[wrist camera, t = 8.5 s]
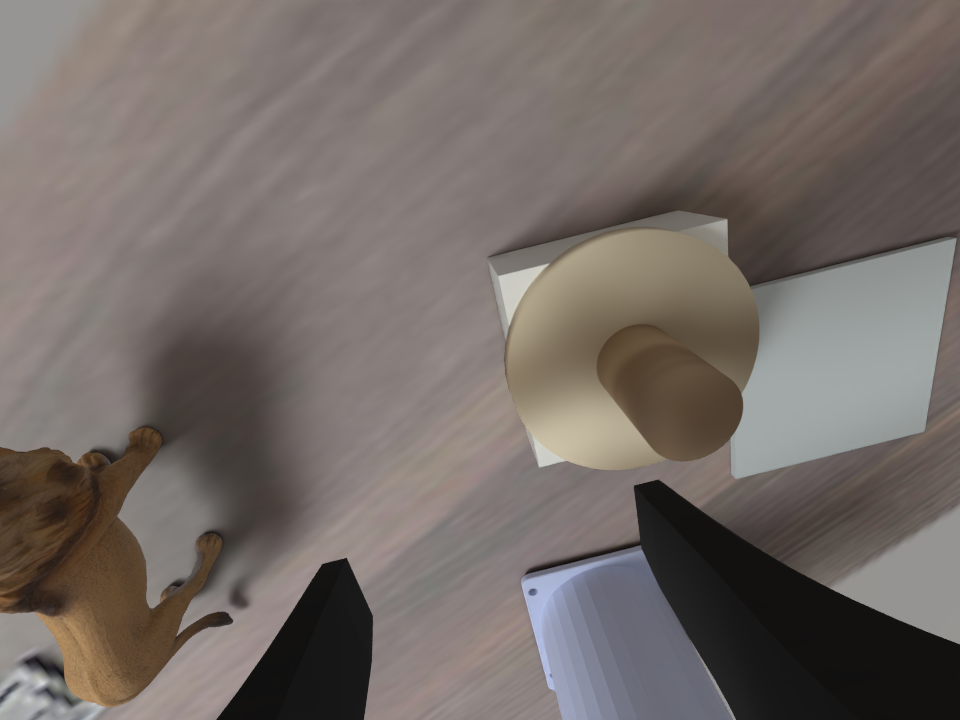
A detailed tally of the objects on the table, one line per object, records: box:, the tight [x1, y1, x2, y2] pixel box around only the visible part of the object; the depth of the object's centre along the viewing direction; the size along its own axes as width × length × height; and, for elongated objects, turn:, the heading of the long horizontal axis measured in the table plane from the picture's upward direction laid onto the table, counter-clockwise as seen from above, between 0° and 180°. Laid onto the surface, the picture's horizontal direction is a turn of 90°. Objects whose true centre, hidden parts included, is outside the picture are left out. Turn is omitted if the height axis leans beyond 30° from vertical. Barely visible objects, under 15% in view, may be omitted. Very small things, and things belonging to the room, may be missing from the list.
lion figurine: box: [0, 427, 233, 707], centre depth 18 cm, size 15×5×9 cm, turn 20°
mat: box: [731, 237, 957, 479], centre depth 23 cm, size 10×10×1 cm
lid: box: [504, 227, 760, 470], centre depth 15 cm, size 9×9×5 cm
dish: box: [487, 210, 728, 467], centre depth 19 cm, size 8×8×4 cm
